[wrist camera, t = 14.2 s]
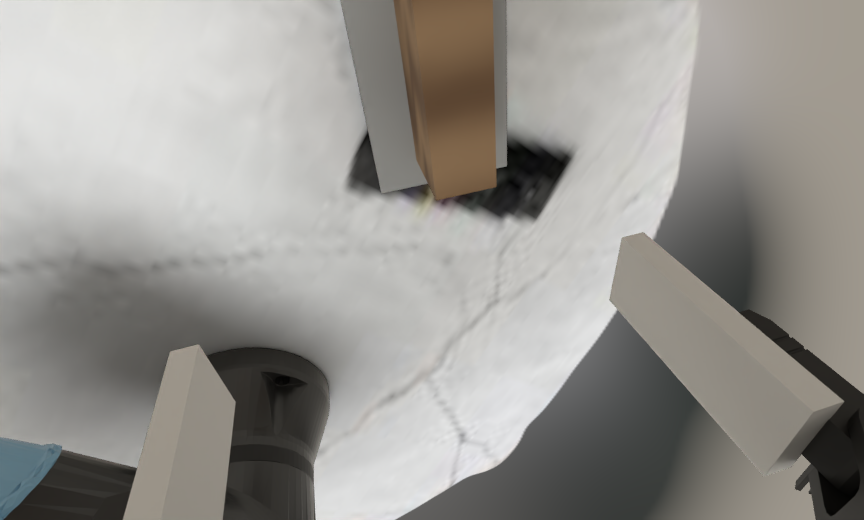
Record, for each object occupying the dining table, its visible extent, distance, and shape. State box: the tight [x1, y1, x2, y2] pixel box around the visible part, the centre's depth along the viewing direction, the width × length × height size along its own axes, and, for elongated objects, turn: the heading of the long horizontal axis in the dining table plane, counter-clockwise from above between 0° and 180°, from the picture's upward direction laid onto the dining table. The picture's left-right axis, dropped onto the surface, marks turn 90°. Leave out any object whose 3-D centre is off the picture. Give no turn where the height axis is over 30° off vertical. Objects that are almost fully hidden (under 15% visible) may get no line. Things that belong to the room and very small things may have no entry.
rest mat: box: [341, 0, 507, 193], centre depth 27 cm, size 24×10×1 cm, turn 6°
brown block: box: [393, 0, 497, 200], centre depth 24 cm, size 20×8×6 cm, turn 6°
